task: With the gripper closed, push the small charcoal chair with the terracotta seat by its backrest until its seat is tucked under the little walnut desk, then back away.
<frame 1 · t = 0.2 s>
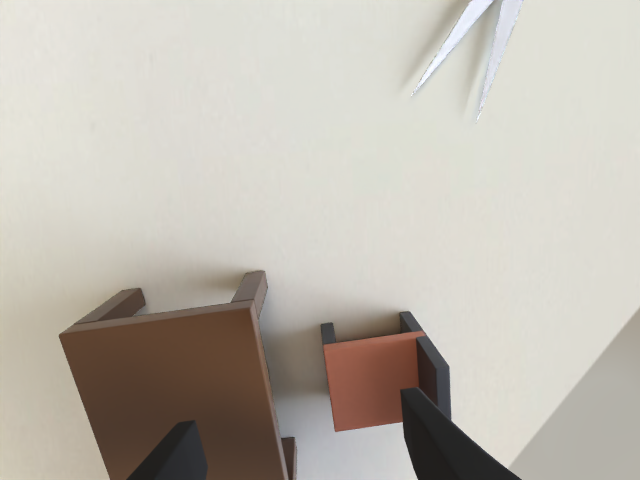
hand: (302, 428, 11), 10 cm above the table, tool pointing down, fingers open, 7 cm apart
desk: (216, 376, 22), on the table
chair: (369, 354, 22), on the table
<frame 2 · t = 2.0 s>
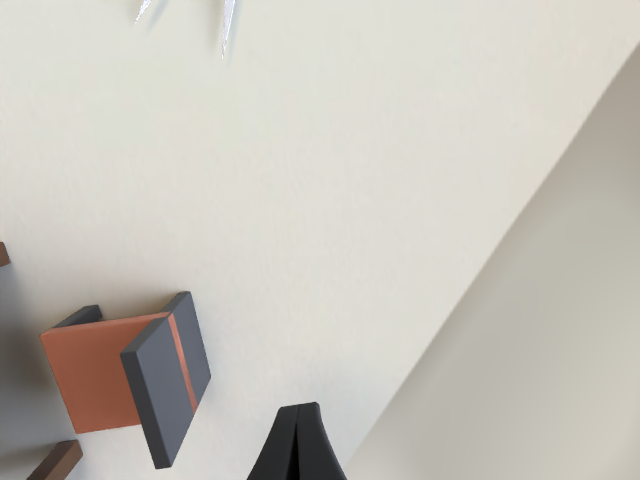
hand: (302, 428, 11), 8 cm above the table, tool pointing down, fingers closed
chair: (150, 342, 19), on the table
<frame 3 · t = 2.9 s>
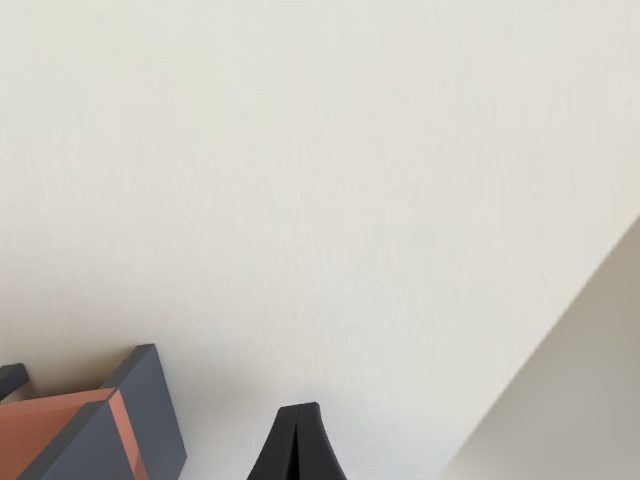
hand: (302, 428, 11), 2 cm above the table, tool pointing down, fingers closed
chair: (99, 413, 13), on the table
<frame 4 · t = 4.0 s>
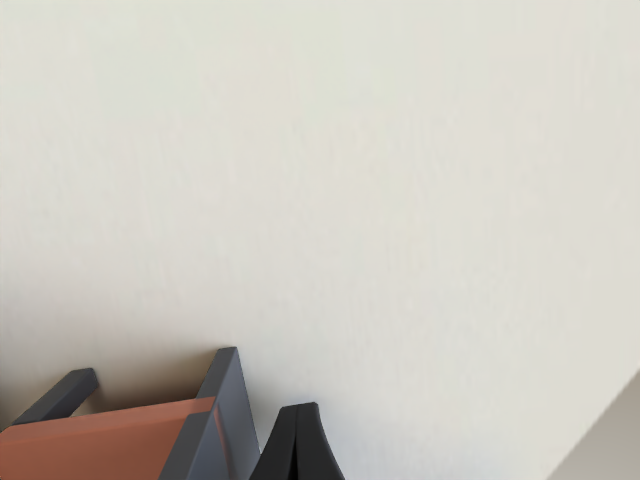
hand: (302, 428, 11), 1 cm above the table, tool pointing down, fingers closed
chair: (172, 422, 12), on the table, touching gripper
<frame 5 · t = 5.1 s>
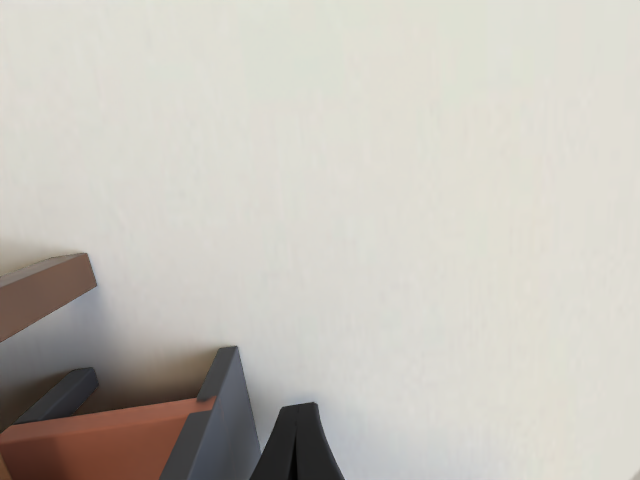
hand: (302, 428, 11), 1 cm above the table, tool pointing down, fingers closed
desk: (24, 445, 12), on the table
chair: (173, 421, 12), on the table, touching gripper
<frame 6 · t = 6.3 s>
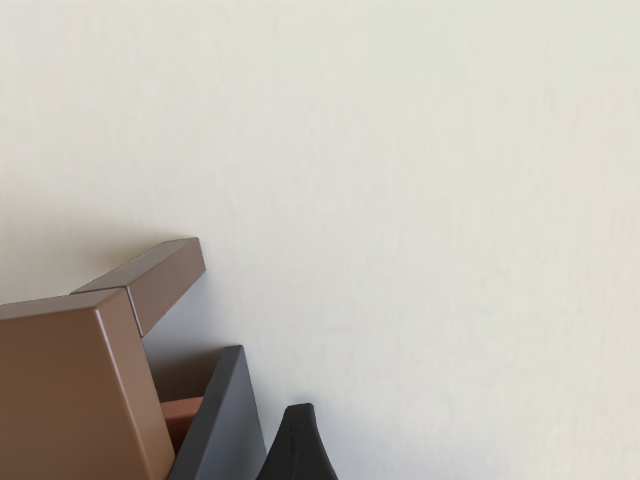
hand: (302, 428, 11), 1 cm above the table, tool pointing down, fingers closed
desk: (121, 430, 12), on the table
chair: (178, 420, 12), on the table, touching desk, gripper
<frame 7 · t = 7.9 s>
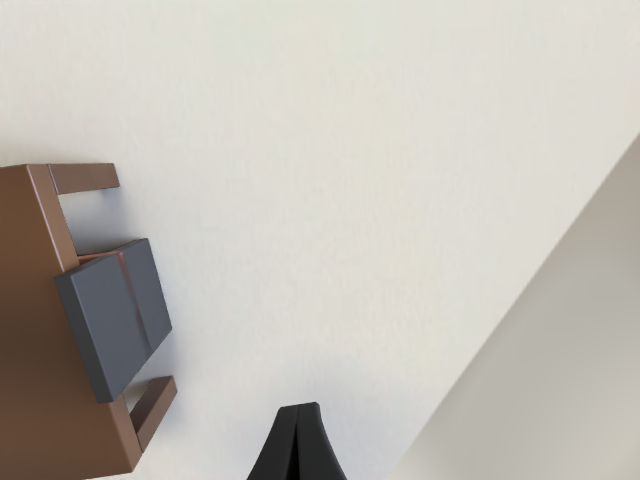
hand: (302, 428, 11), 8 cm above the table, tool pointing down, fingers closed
desk: (70, 299, 18), on the table
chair: (108, 292, 18), on the table
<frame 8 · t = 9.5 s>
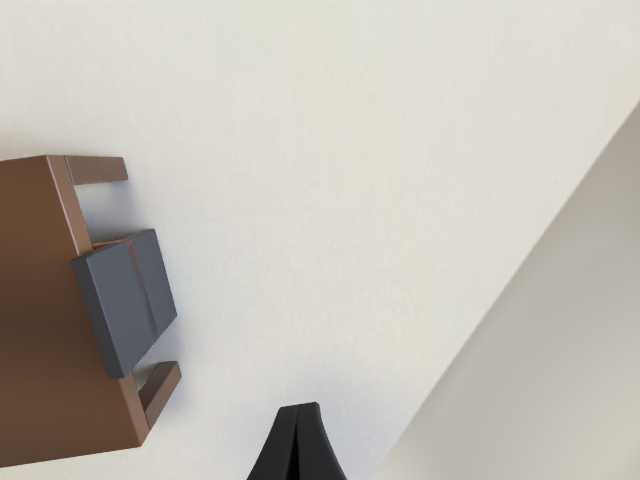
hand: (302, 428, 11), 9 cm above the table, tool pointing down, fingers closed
desk: (80, 286, 19), on the table
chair: (116, 280, 19), on the table
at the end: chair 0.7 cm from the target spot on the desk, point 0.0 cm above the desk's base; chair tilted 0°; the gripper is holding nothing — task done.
